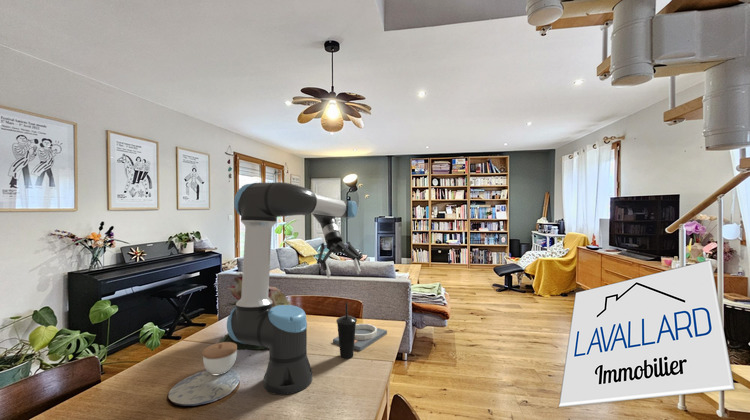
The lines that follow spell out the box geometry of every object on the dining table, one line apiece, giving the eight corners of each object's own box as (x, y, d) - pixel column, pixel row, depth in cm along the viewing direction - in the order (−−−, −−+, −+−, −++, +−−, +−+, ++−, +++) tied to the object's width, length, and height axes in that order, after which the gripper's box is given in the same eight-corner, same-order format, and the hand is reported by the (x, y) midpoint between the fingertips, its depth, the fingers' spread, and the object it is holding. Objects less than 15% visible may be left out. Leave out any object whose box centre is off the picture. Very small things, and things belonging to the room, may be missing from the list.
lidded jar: (199, 381, 104) (198, 352, 104) (206, 365, 114) (206, 339, 114) (234, 376, 107) (234, 348, 107) (239, 361, 117) (239, 335, 117)
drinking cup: (358, 351, 124) (358, 300, 124) (355, 361, 117) (354, 306, 116) (339, 350, 125) (338, 299, 125) (334, 360, 117) (334, 305, 117)
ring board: (360, 351, 125) (360, 342, 125) (332, 342, 132) (332, 334, 132) (387, 333, 142) (387, 325, 141) (361, 327, 149) (361, 319, 149)
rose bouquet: (285, 350, 126) (284, 274, 125) (211, 350, 126) (210, 274, 126) (301, 326, 151) (301, 262, 151) (240, 325, 152) (239, 262, 151)
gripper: (354, 239, 158) (368, 276, 144) (304, 242, 146) (314, 282, 133) (359, 229, 153) (373, 266, 140) (307, 231, 141) (317, 272, 128)
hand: (344, 274), depth 136 cm, fingers open, 13 cm apart
